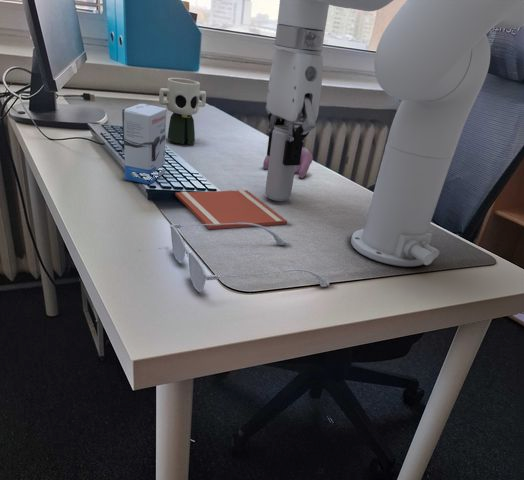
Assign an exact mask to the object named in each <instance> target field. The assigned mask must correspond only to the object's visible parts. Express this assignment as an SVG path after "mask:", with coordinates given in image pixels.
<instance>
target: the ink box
mask: <svg viewBox="0 0 524 480" xmlns="http://www.w3.org/2000/svg"><path fill="white" fill-rule="evenodd" d="M124 109H125V111H124V148H125V150H124V180H125V181H131V182H134V183H139V184H145V185H150V184H152V183H154V182H155V181H156V180H157V179H158V178H160V177H161V176H162V175H164V174H165V173H166V172H165V169H166V167H165V168H164V169H163V170H162V171H161V172H159V173H158V175H159V176H160V177H159V176H158V175H157V176H158V178H156V177H155V176H154V177H155V178H156V179H155V178H154V177H152V178H153V179H152V178H151V179H152V180H151V179H150V180H148V181H147V180H144V179H143V178H139V177H133V176H132V175H131V173H132V172H136V173H145V174H151V173H153V172H154V171H156V170H158V169H159V168H161V167H162V166H163V165H164V164H165V165H166V138H167V137H166V135H167V134H166V133H167V110H168V109H167V107H162V106H156V105H152V104H148V103H138V104H135V105H133V106H129V107H126V108H124ZM149 181H150V182H149ZM147 182H148V183H147Z"/></svg>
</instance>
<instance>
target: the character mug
mask: <svg viewBox="0 0 524 480" xmlns="http://www.w3.org/2000/svg"><path fill="white" fill-rule="evenodd" d="M158 91H159V94H158V96H159V97H158V102H159V104H160V105H161V106H162V105H163V106H166V109H167V110H168V111H169V112H171V113H172V114H171V115H170V118H169V124H168V130H167V139H168V140H169V141H170V142H173V143H176V144H185V143H186V144H189V145H190V144H194V143H195V142H196V134H195V133H196V132H195V131H196V130H195V120H194V117H193V115H197V113H198V112H199V110H200V108H204V107H205V106H206V104H207V103H206V102H207V92H206V91H205V90H201V83H200V82H199V81H197V80H193V79H189V78H182V77H168V78H167V82H166V88H165V87H161V88H159V90H158ZM164 94H166V99H165V96H164ZM200 96H201V101H200Z"/></svg>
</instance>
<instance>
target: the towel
mask: <svg viewBox="0 0 524 480" xmlns="http://www.w3.org/2000/svg"><path fill="white" fill-rule="evenodd" d="M174 196H175V197H176V199H178V200H179V201H180V202H181V203H182V204H183V205H184V206H185V207H186V208H187V209H188V210H189V211H190V212H191V213H192V214H193V215H194V216H195V217H196V218H197V219H198V220H199V221H200V222H201V223H202V224H220V225H204V227H206V228H207V229H208V230H220V229H237V228H252V227H255V226H254V225H247V224H223V223H253V224H257V225H260V226H263V227H266V226H281V225H283V226H284V225H287V224H288V220H286V219H285V218H284V217H282V216H281V215H280V214H278V213H277V212H276V211H275V210H273V209H272V208H271V207H269V206H268V205H267V204H266V203H264V202H263V201H262V200H261V199H259V198H258V197H256V196H255V195H253V193H251V192H250V191H249V190H243V189H237V190H217V191H216V190H215V191H178V192H175V194H174Z"/></svg>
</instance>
